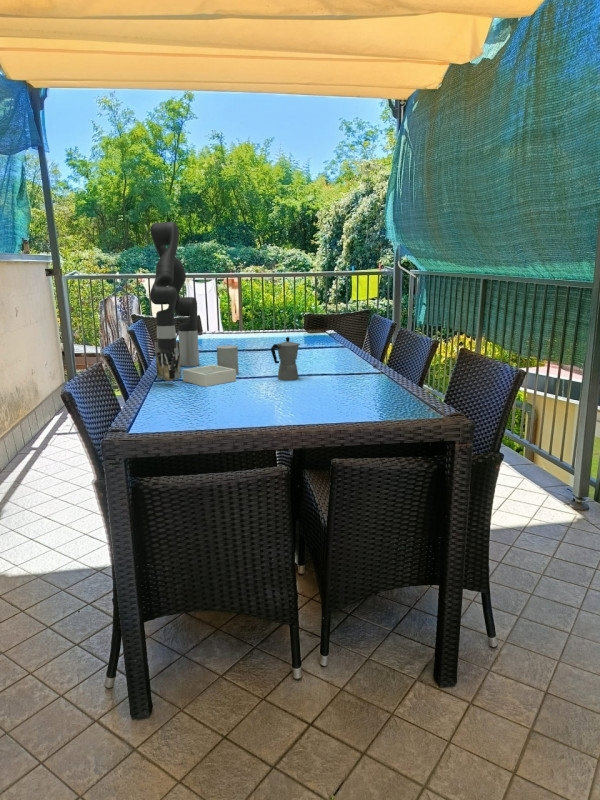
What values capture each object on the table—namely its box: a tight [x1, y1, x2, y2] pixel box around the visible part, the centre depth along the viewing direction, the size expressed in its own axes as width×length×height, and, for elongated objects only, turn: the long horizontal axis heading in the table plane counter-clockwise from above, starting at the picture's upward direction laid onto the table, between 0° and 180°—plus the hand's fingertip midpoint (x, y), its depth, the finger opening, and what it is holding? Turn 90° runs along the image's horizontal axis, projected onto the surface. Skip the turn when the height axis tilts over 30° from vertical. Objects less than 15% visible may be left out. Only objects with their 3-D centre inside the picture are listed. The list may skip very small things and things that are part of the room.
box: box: [182, 364, 237, 388], centre depth 234 cm, size 16×16×5 cm
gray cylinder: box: [216, 344, 239, 376], centre depth 250 cm, size 10×10×12 cm
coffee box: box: [154, 340, 182, 380], centre depth 240 cm, size 9×6×16 cm
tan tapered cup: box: [163, 365, 175, 382], centre depth 227 cm, size 4×4×6 cm
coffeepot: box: [270, 336, 301, 382], centre depth 236 cm, size 15×9×18 cm, turn 129°
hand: (169, 377), depth 227 cm, fingers closed on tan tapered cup, 4 cm apart
